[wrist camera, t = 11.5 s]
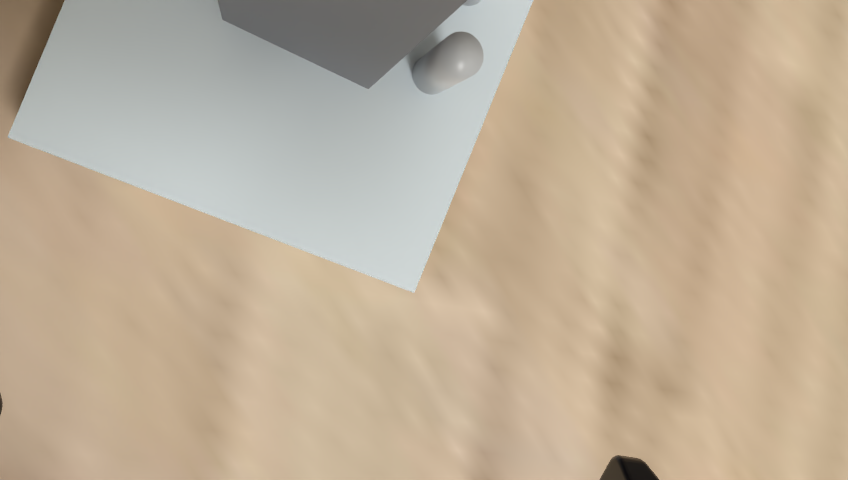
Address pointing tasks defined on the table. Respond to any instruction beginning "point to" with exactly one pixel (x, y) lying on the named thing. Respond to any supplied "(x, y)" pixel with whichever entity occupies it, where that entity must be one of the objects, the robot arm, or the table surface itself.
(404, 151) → the pin dock
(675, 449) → the table surface
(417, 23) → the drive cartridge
